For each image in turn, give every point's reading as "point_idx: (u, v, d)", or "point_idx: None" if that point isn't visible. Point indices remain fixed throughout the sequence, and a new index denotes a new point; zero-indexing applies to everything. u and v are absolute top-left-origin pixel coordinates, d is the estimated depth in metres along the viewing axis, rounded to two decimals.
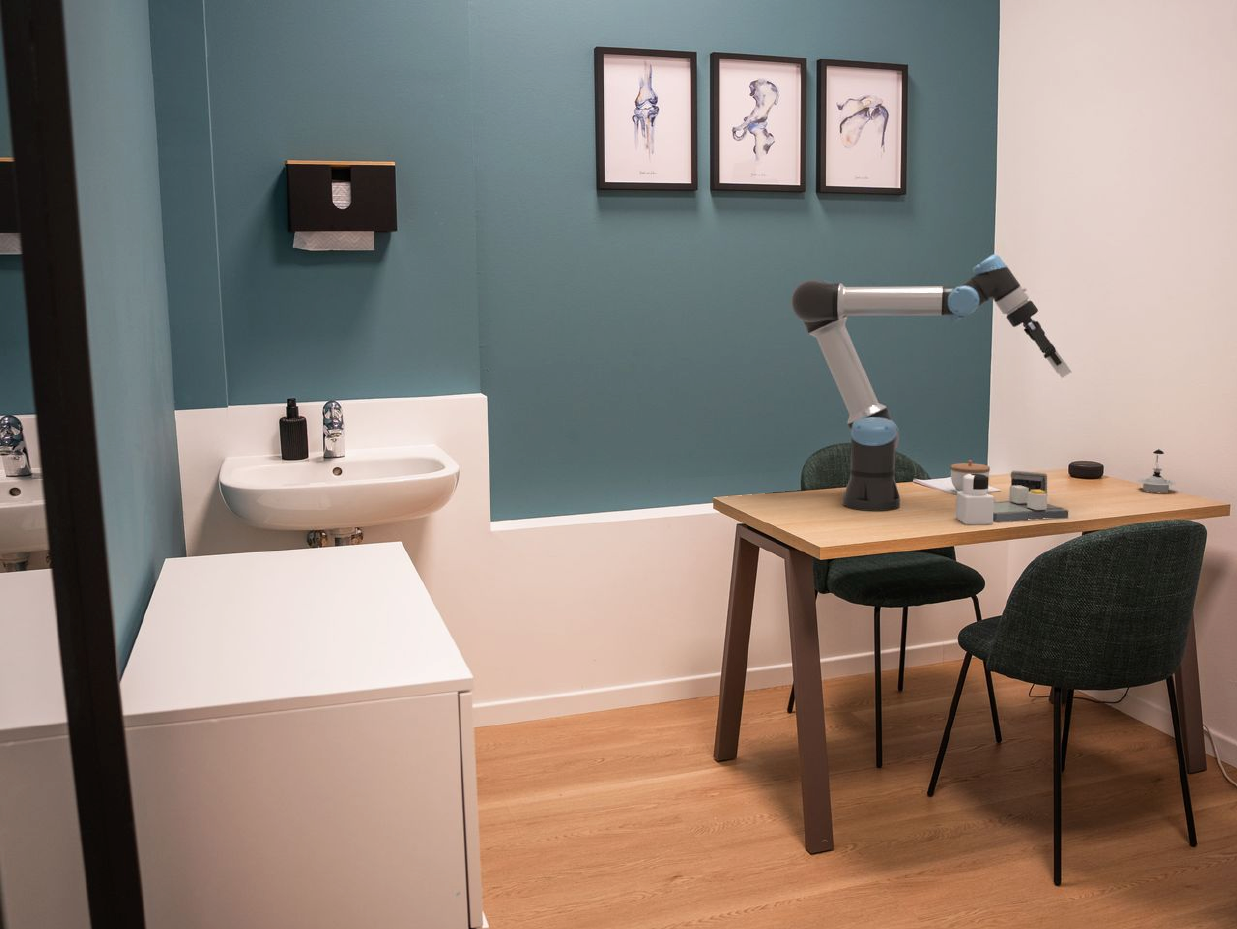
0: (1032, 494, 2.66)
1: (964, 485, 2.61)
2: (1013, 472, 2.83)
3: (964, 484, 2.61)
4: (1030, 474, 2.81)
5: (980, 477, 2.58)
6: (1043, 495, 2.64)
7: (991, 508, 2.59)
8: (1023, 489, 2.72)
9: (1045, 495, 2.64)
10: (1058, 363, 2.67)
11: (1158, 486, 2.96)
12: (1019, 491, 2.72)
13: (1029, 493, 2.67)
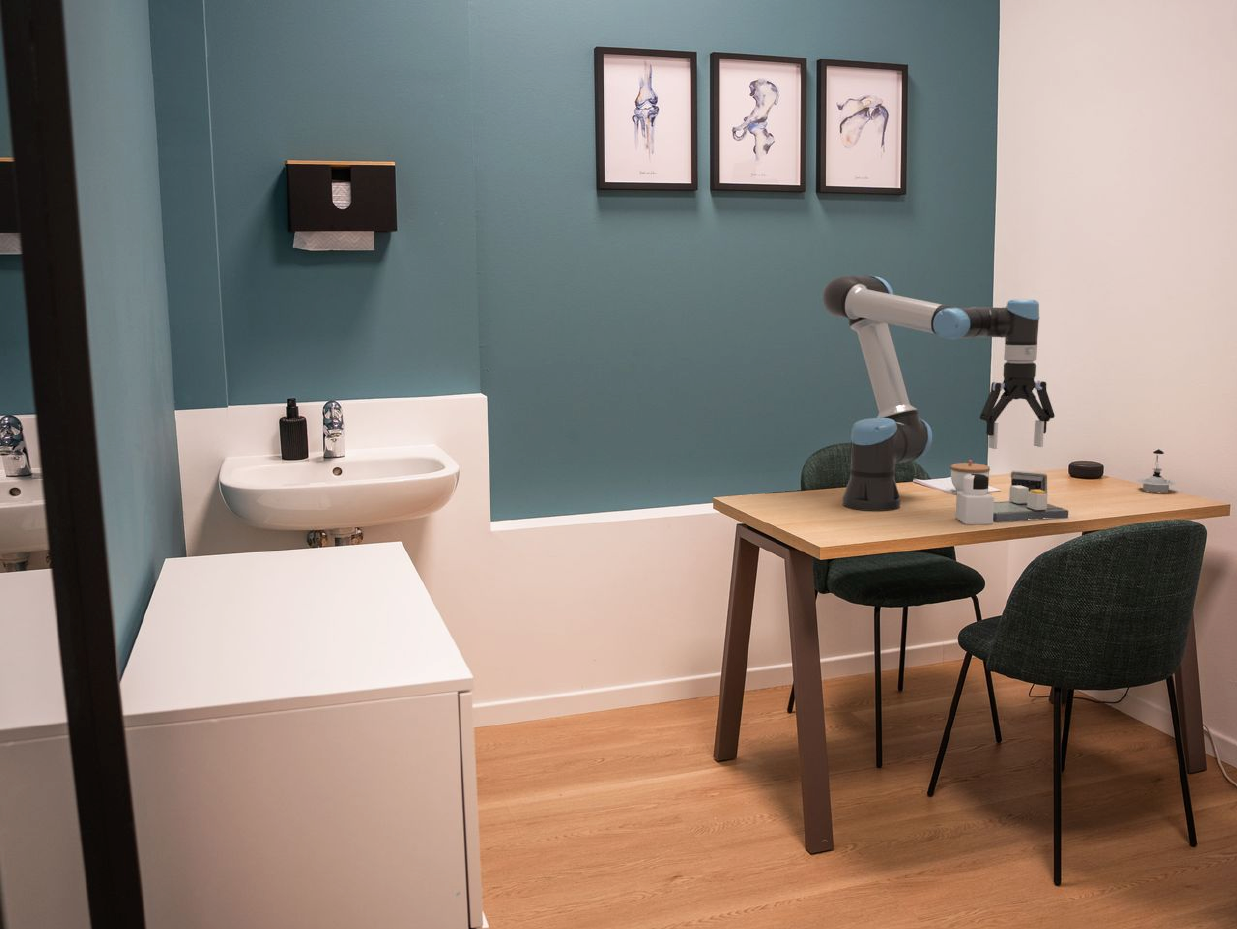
0: (1032, 494, 2.66)
1: (964, 485, 2.61)
2: (1013, 472, 2.83)
3: (964, 484, 2.61)
4: (1030, 474, 2.81)
5: (980, 477, 2.58)
6: (1043, 495, 2.64)
7: (991, 508, 2.59)
8: (1023, 489, 2.72)
9: (1045, 495, 2.64)
10: (987, 433, 2.61)
11: (1158, 486, 2.96)
12: (1019, 491, 2.72)
13: (1029, 493, 2.67)
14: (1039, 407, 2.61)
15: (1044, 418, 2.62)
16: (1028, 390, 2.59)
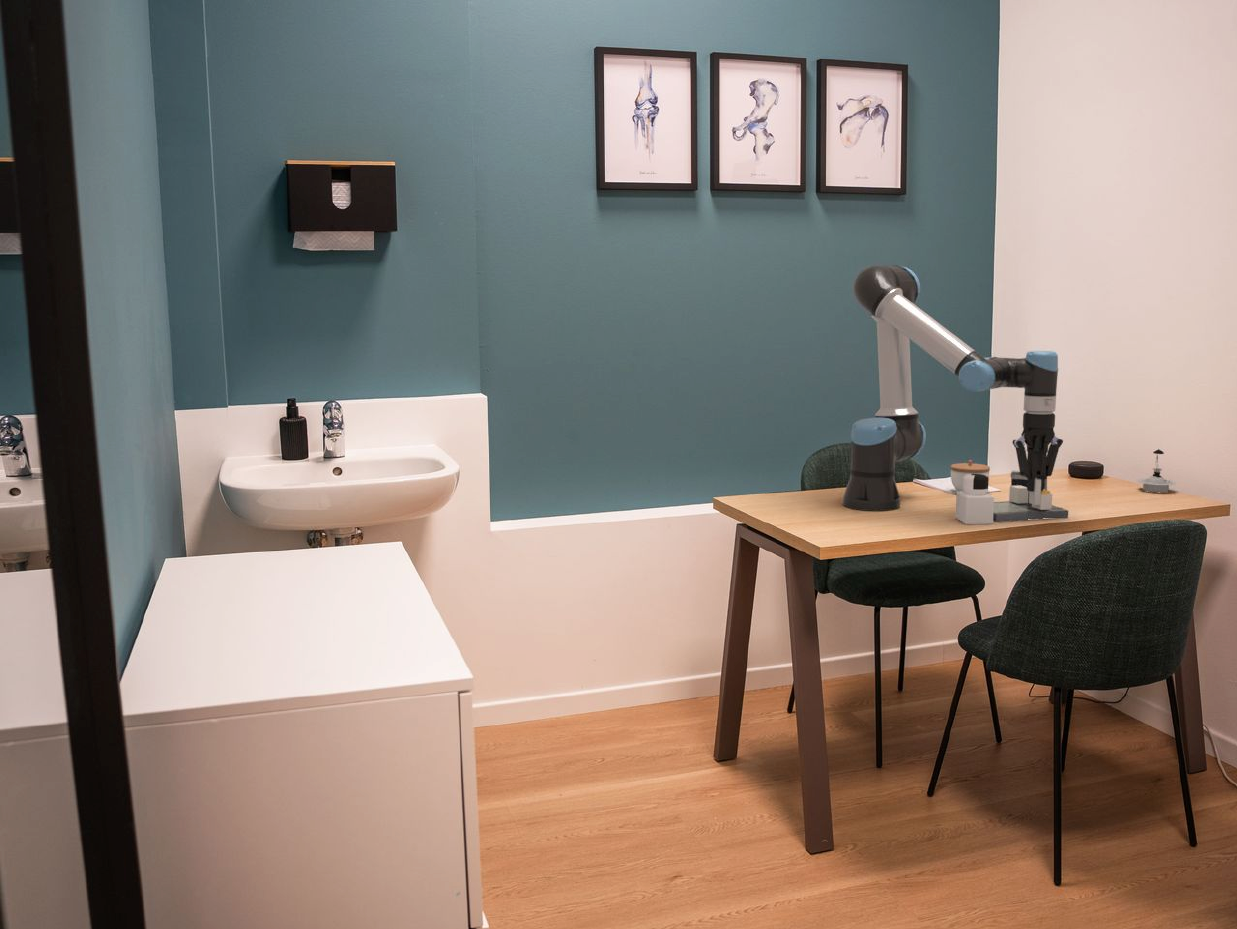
0: None
1: (964, 485, 2.61)
2: (1013, 472, 2.83)
3: (964, 484, 2.61)
4: None
5: (980, 477, 2.58)
6: (1048, 495, 2.64)
7: (991, 508, 2.59)
8: (1023, 489, 2.72)
9: (1050, 495, 2.64)
10: (1028, 489, 2.65)
11: (1158, 486, 2.96)
12: (1019, 491, 2.72)
13: None
14: (1044, 463, 2.63)
15: (1042, 475, 2.64)
16: (1046, 440, 2.62)
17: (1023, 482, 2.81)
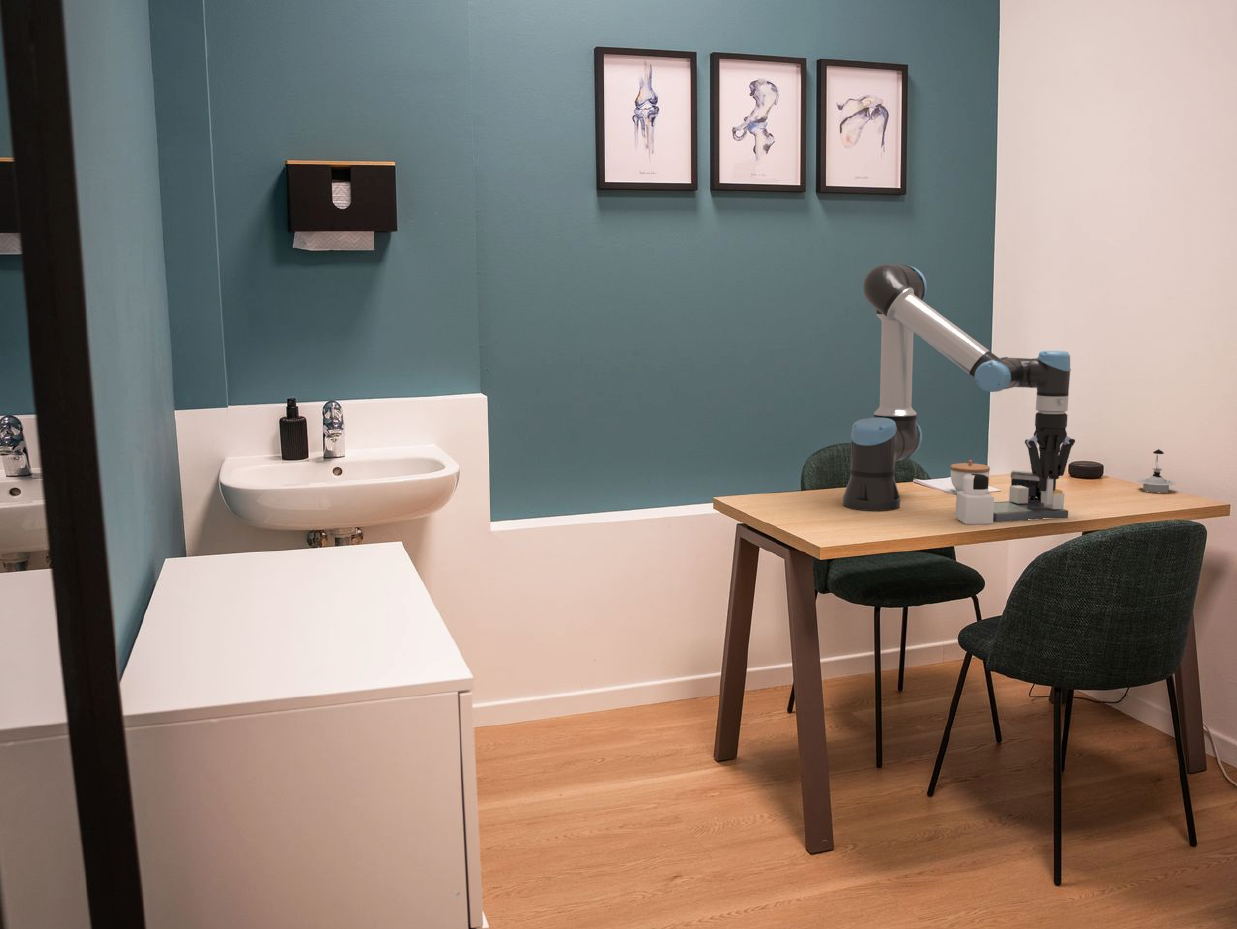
0: None
1: (964, 485, 2.61)
2: (1013, 472, 2.83)
3: (964, 484, 2.61)
4: (1030, 474, 2.81)
5: (980, 477, 2.58)
6: (1060, 494, 2.65)
7: (991, 508, 2.59)
8: (1023, 489, 2.72)
9: (1062, 494, 2.65)
10: (1040, 489, 2.66)
11: (1158, 486, 2.96)
12: (1019, 491, 2.72)
13: None
14: (1056, 462, 2.64)
15: (1054, 475, 2.64)
16: (1058, 440, 2.62)
17: (1023, 482, 2.81)
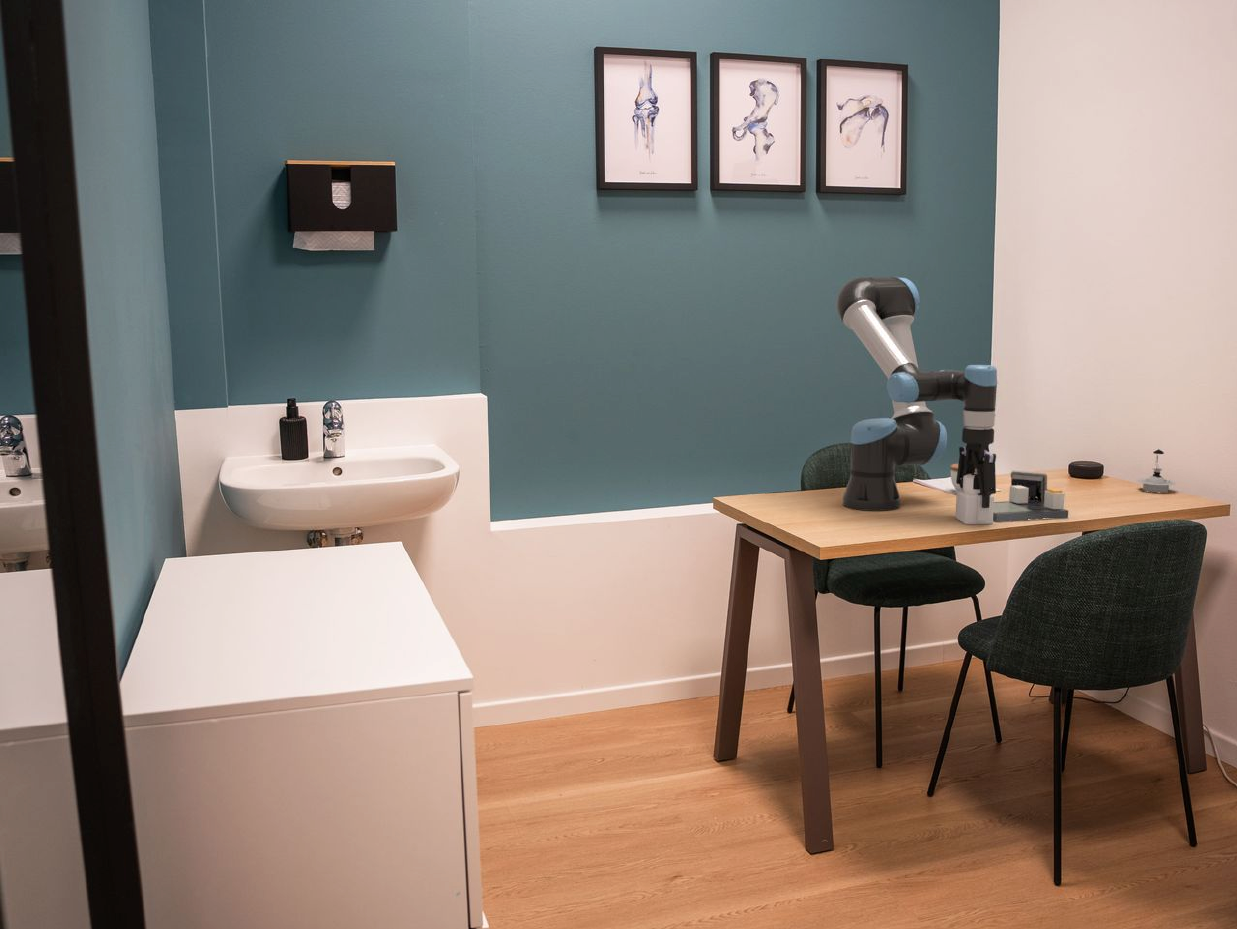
0: (1049, 493, 2.66)
1: (964, 485, 2.61)
2: (1013, 472, 2.83)
3: (964, 484, 2.61)
4: (1030, 474, 2.81)
5: None
6: (1060, 494, 2.65)
7: (991, 508, 2.59)
8: (1023, 489, 2.72)
9: (1062, 494, 2.65)
10: (986, 506, 2.56)
11: (1158, 486, 2.96)
12: (1019, 491, 2.72)
13: (1046, 492, 2.68)
14: None
15: None
16: None
17: (1023, 482, 2.81)
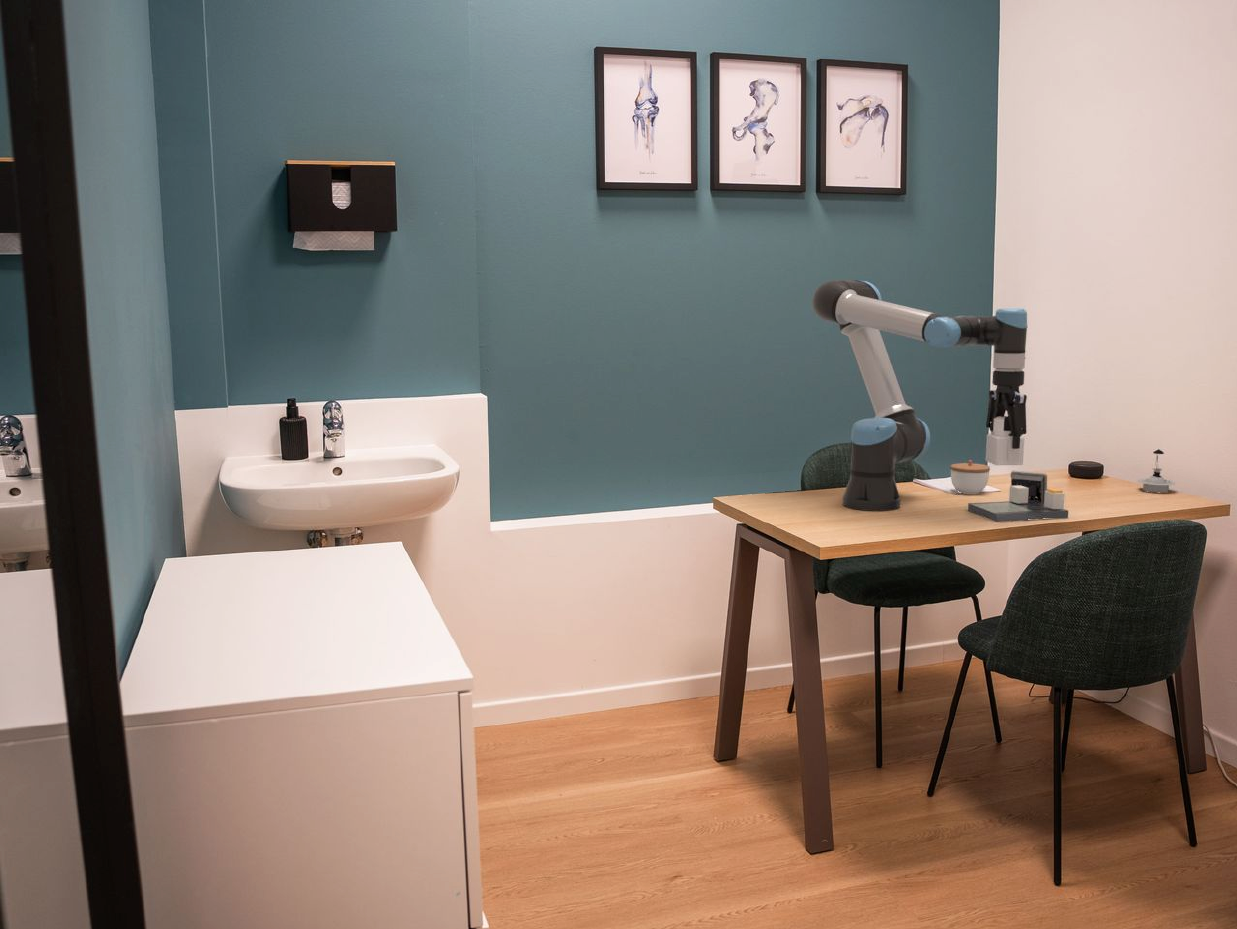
0: (1049, 493, 2.66)
1: (994, 427, 2.65)
2: (1013, 472, 2.83)
3: (994, 426, 2.65)
4: (1030, 474, 2.81)
5: None
6: (1060, 494, 2.65)
7: (1021, 449, 2.63)
8: (1023, 489, 2.72)
9: (1062, 494, 2.65)
10: (1016, 447, 2.61)
11: (1158, 486, 2.96)
12: (1019, 491, 2.72)
13: (1046, 492, 2.68)
14: None
15: None
16: None
17: (1023, 482, 2.81)
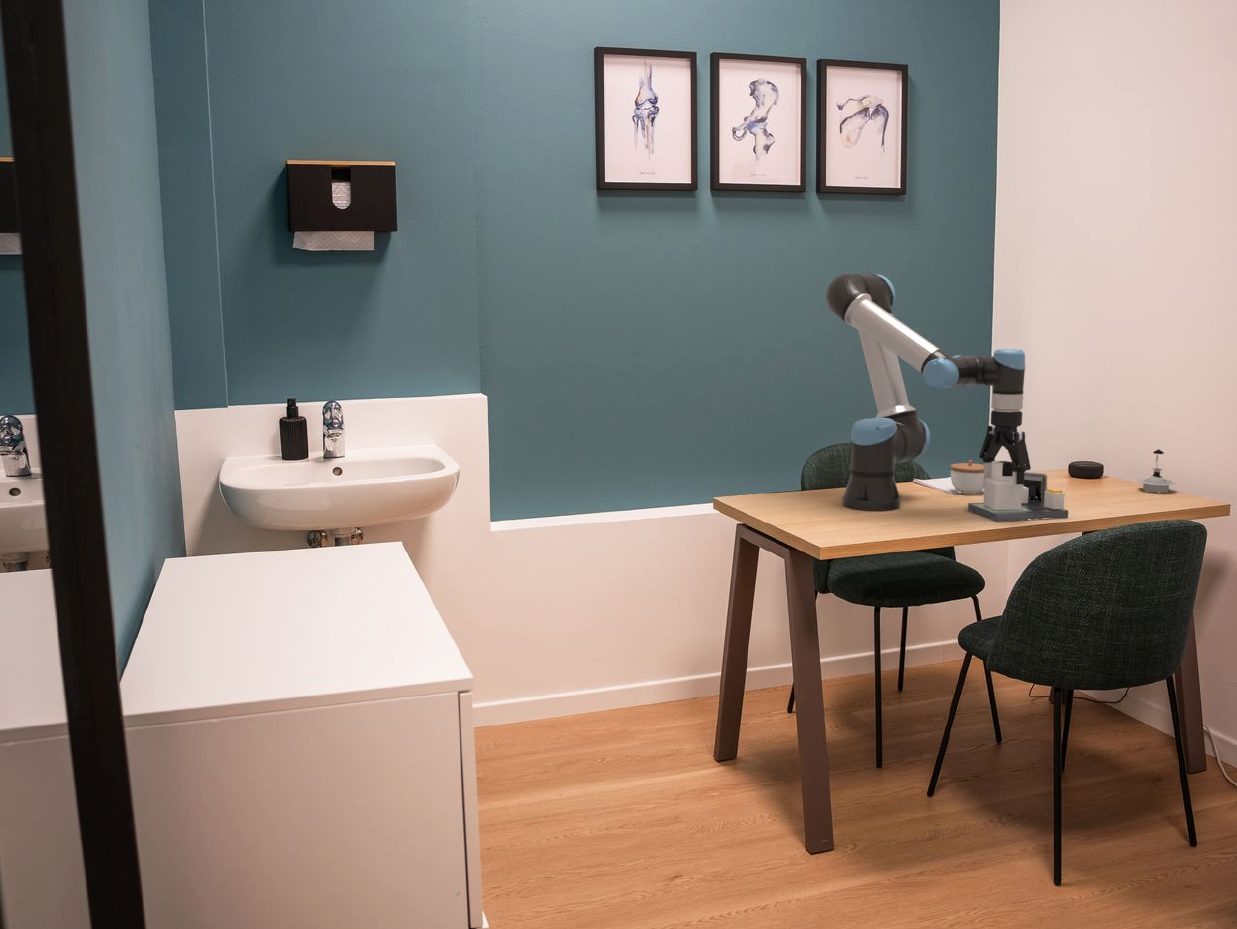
0: (1049, 493, 2.66)
1: (993, 472, 2.67)
2: None
3: (993, 471, 2.67)
4: (1030, 474, 2.81)
5: (1009, 464, 2.65)
6: (1060, 494, 2.65)
7: None
8: (1023, 489, 2.72)
9: (1062, 494, 2.65)
10: (1020, 483, 2.60)
11: (1158, 486, 2.96)
12: None
13: (1046, 492, 2.68)
14: None
15: None
16: None
17: None
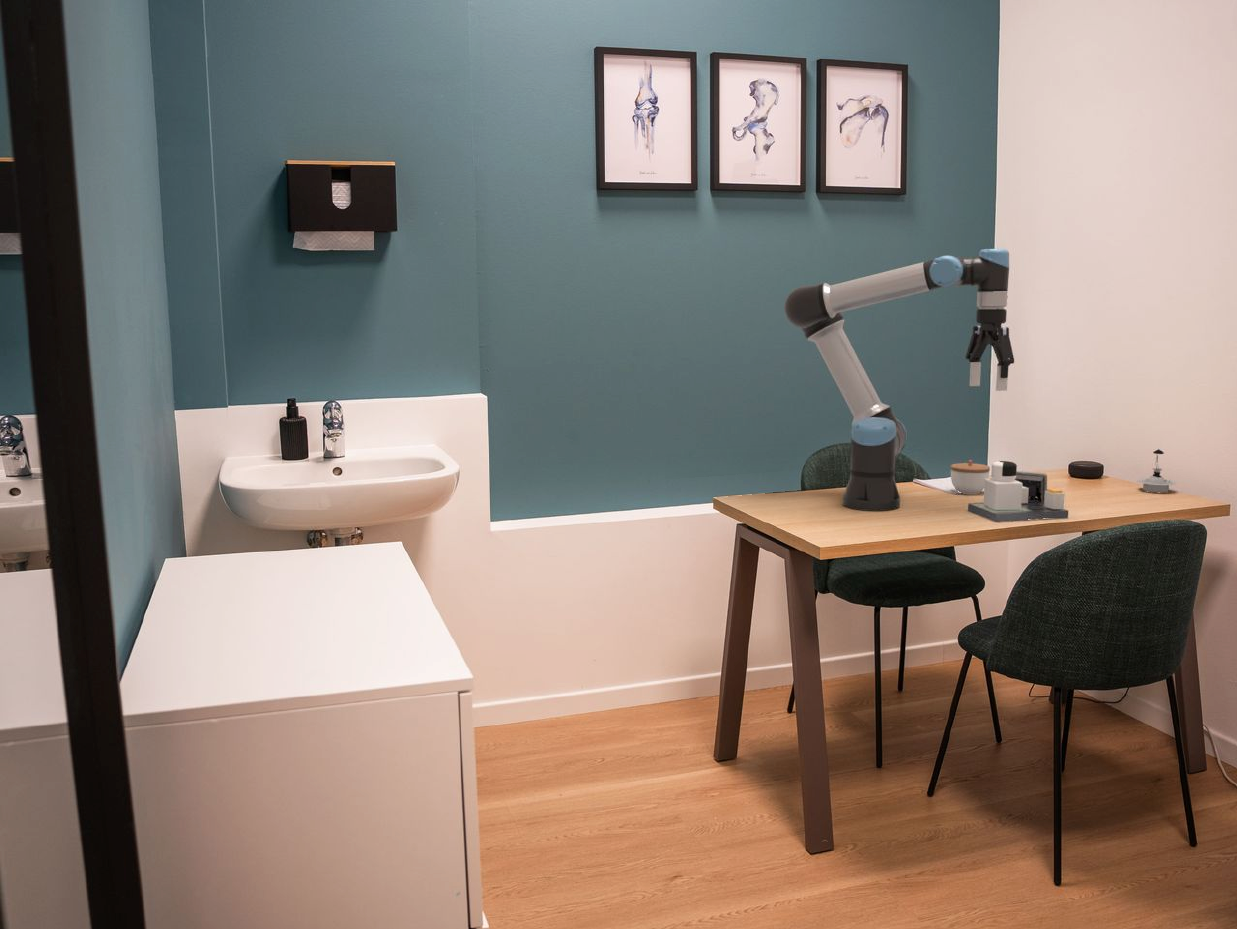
0: (1049, 493, 2.66)
1: (993, 472, 2.67)
2: None
3: (993, 471, 2.67)
4: (1030, 474, 2.81)
5: (1009, 464, 2.65)
6: (1060, 494, 2.65)
7: (1019, 494, 2.65)
8: (1023, 489, 2.72)
9: (1062, 494, 2.65)
10: (1004, 376, 2.70)
11: (1158, 486, 2.96)
12: None
13: (1046, 492, 2.68)
14: None
15: None
16: None
17: (1023, 482, 2.81)
